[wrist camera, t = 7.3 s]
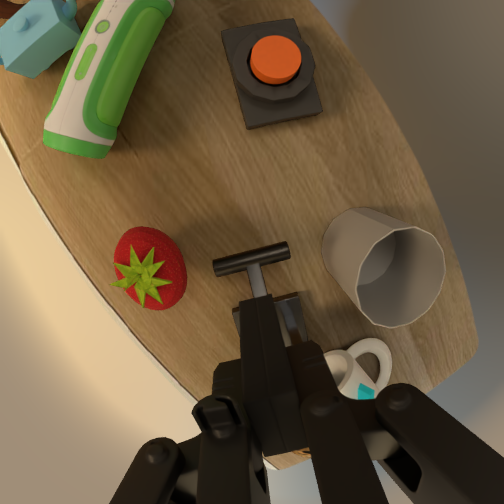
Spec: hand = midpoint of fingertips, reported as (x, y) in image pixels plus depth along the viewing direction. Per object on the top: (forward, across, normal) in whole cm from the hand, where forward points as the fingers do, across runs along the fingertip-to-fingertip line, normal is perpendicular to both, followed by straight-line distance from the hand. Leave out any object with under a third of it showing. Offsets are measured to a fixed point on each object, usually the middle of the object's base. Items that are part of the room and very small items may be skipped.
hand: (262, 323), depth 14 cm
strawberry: (+18, -9, +1) cm, 20 cm away
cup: (+18, +11, -4) cm, 21 cm away
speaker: (+18, -8, +20) cm, 28 cm away
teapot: (+18, -14, +28) cm, 36 cm away
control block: (+18, +6, +15) cm, 24 cm away
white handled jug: (+17, +8, -21) cm, 28 cm away
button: (+14, +6, +15) cm, 21 cm away
